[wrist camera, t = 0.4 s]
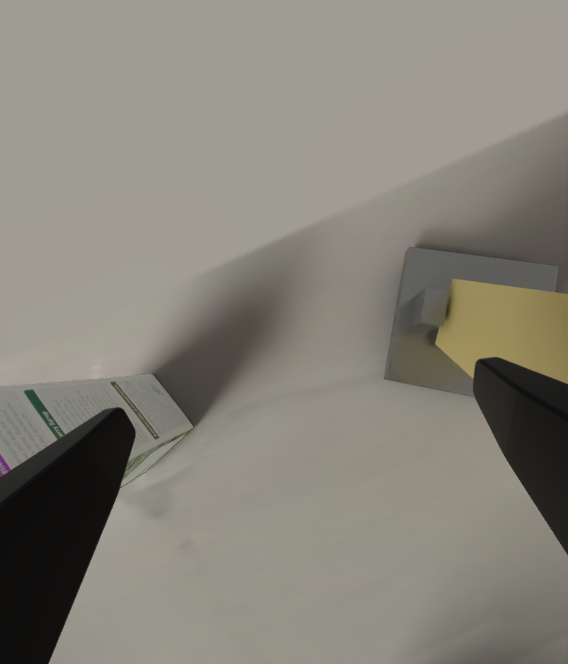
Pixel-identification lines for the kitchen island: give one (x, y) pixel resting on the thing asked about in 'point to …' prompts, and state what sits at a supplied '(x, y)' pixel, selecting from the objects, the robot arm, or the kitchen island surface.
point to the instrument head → (506, 327)
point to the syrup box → (82, 404)
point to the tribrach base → (430, 308)
